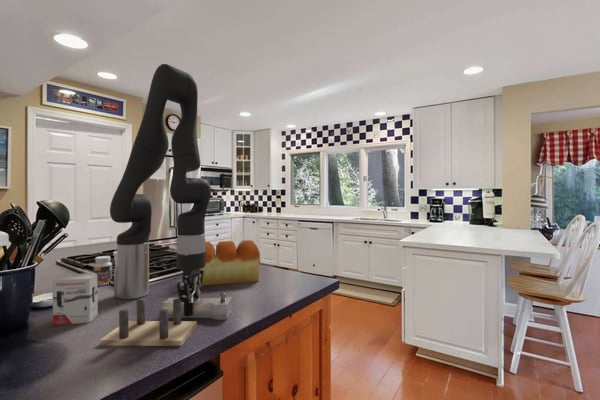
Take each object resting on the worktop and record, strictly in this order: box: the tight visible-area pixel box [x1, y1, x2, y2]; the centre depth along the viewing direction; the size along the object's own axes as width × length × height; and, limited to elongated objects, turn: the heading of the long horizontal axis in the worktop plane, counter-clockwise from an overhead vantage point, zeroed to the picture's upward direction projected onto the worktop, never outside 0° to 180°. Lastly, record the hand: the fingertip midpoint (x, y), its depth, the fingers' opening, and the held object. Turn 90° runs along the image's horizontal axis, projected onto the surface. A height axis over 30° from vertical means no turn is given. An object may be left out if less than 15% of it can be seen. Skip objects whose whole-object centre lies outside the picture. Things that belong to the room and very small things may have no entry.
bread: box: [200, 239, 261, 286], centre depth 118 cm, size 25×12×15 cm, turn 105°
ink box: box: [51, 272, 99, 326], centre depth 79 cm, size 8×5×12 cm, turn 103°
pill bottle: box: [93, 255, 113, 287], centre depth 111 cm, size 6×6×10 cm
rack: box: [99, 297, 198, 347], centre depth 71 cm, size 18×10×7 cm, turn 90°
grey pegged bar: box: [162, 292, 233, 321], centre depth 83 cm, size 18×6×6 cm, turn 90°
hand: (191, 311), depth 83 cm, fingers closed on grey pegged bar, 4 cm apart
